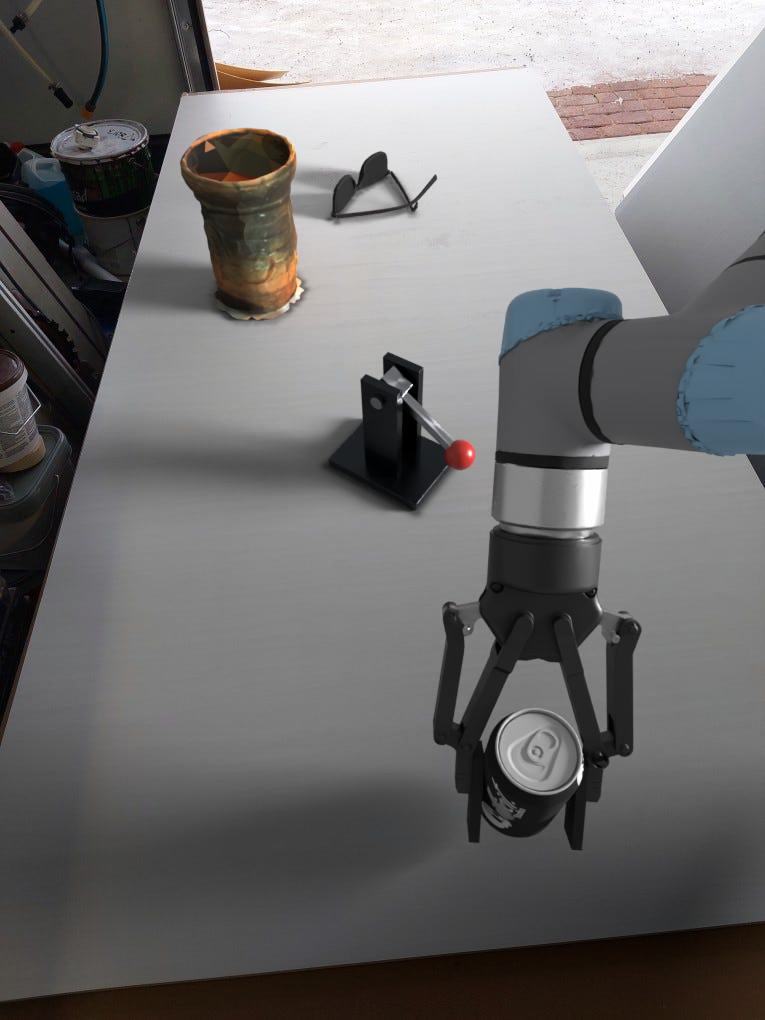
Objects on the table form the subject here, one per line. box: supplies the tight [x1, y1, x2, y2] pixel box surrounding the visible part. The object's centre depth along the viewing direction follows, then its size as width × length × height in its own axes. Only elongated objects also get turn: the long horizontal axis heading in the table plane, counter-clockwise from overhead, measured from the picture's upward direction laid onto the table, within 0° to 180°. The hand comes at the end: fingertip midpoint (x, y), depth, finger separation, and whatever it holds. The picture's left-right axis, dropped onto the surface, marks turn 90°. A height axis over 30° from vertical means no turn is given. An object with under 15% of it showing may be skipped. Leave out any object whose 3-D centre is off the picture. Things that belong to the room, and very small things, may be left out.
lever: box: [379, 366, 476, 471], centre depth 71 cm, size 13×3×3 cm
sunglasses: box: [330, 150, 438, 220], centre depth 111 cm, size 17×14×5 cm
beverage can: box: [481, 707, 584, 839], centre depth 51 cm, size 7×7×12 cm
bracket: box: [327, 351, 452, 512], centre depth 75 cm, size 12×9×14 cm
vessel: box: [179, 127, 305, 321], centre depth 92 cm, size 14×14×20 cm
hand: (522, 834), depth 51 cm, fingers closed on beverage can, 7 cm apart
